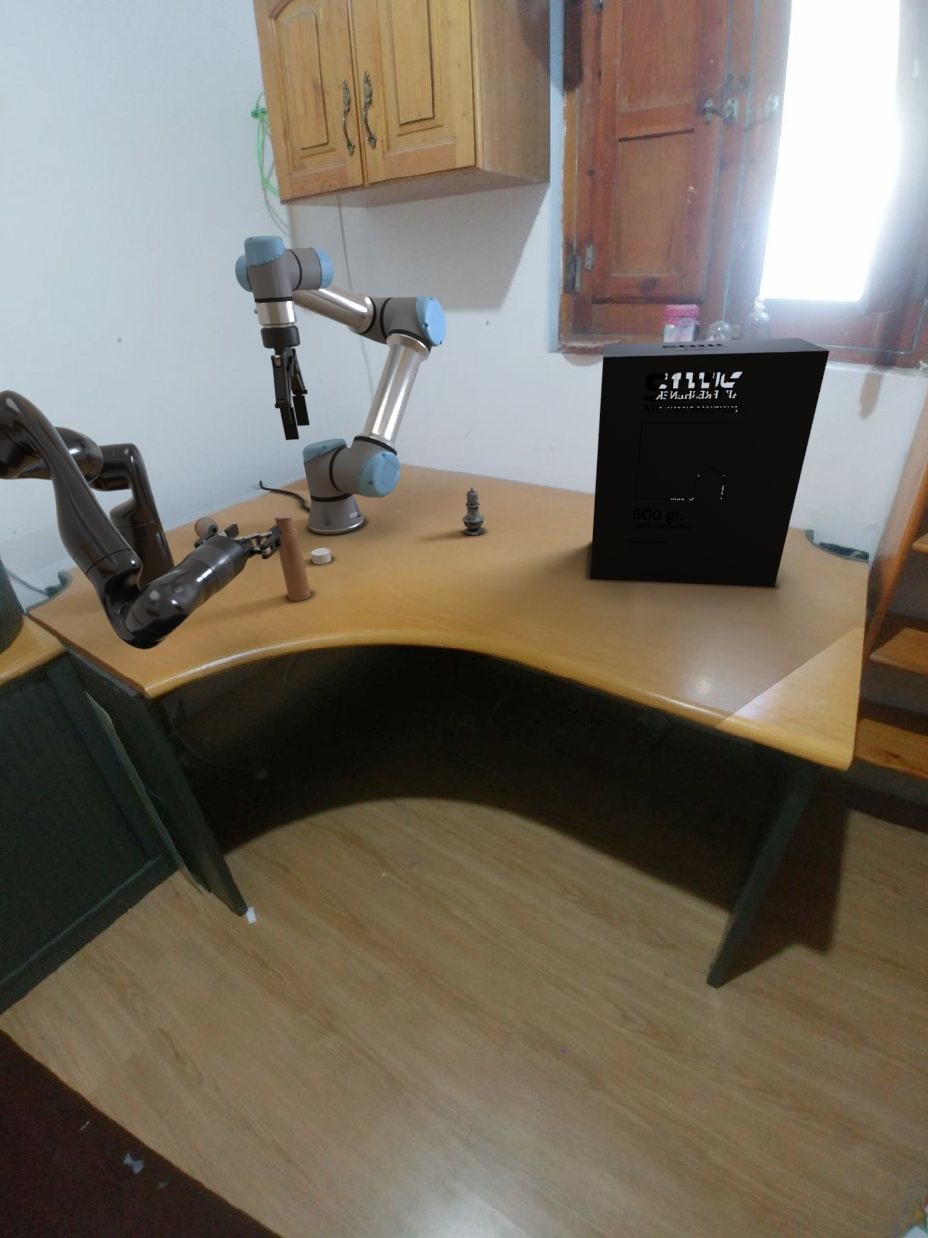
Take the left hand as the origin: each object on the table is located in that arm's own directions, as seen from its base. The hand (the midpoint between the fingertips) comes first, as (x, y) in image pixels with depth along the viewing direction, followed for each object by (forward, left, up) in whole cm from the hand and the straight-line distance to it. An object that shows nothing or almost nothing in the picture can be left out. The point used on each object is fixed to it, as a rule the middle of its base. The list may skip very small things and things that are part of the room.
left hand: (257, 529), depth 114 cm
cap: (-2, +29, -18) cm, 34 cm away
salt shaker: (+33, +50, -20) cm, 63 cm away
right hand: (-2, +29, +11) cm, 31 cm away
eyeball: (-39, +41, -20) cm, 60 cm away
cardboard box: (+82, +33, -20) cm, 91 cm away
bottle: (0, +11, -20) cm, 23 cm away
